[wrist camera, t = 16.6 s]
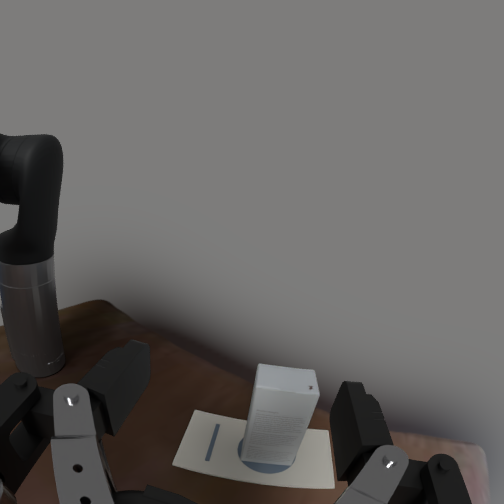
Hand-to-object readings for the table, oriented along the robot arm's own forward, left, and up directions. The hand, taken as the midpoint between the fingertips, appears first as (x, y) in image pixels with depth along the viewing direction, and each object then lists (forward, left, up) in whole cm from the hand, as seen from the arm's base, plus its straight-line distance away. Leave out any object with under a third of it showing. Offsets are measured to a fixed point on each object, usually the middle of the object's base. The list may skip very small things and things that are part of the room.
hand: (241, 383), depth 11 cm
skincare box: (+4, +13, -21) cm, 25 cm away
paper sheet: (+3, +13, -21) cm, 25 cm away
